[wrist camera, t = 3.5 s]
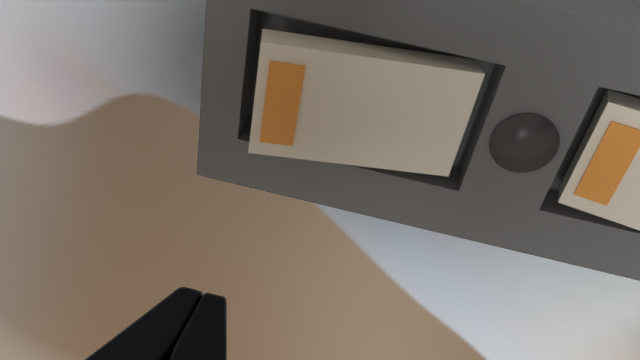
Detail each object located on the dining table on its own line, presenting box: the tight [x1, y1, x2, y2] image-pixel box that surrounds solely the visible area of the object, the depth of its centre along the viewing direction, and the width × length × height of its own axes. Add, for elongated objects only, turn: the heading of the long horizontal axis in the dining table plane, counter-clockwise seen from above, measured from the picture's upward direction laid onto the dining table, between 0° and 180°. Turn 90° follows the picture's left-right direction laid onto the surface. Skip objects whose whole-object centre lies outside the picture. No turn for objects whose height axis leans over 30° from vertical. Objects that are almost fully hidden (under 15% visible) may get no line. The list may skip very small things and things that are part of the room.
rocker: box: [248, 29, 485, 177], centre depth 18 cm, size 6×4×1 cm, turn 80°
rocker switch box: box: [197, 0, 640, 281], centre depth 19 cm, size 20×8×3 cm, turn 80°
